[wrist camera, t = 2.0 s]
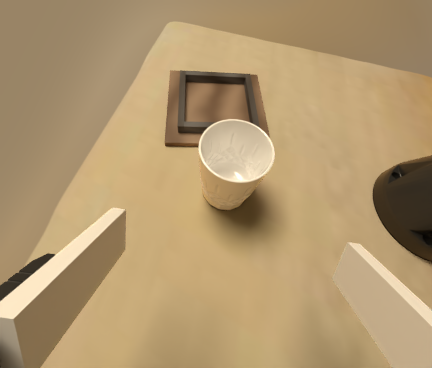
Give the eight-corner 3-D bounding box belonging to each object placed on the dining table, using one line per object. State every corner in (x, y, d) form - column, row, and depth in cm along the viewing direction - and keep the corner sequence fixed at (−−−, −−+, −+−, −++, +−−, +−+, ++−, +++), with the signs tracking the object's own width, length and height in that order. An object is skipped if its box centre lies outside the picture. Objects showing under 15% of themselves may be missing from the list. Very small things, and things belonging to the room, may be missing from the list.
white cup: (250, 167, 32) (272, 122, 23) (252, 216, 28) (278, 185, 19) (200, 163, 31) (201, 115, 22) (195, 212, 28) (195, 179, 19)
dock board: (255, 78, 41) (259, 67, 39) (269, 147, 34) (274, 138, 32) (170, 74, 39) (169, 62, 37) (165, 145, 32) (163, 136, 30)
